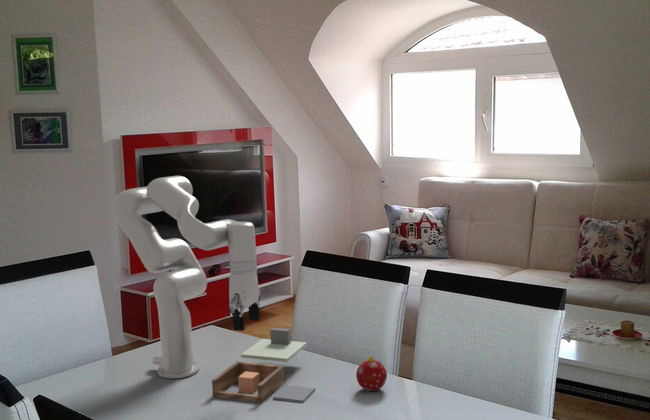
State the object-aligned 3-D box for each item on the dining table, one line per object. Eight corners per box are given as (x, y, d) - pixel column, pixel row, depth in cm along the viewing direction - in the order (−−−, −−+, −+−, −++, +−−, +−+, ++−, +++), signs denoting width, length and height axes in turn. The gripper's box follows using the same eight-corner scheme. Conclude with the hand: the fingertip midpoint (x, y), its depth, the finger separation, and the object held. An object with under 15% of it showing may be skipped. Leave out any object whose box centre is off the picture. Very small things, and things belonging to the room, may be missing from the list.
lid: (241, 357, 217) (240, 340, 216) (262, 341, 231) (261, 325, 231) (287, 362, 212) (286, 344, 211) (306, 345, 226) (306, 328, 225)
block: (239, 392, 204) (238, 376, 204) (246, 386, 209) (245, 371, 208) (253, 393, 203) (252, 378, 202) (260, 387, 207) (259, 372, 206)
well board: (212, 396, 201) (211, 379, 201) (238, 377, 215) (237, 361, 215) (262, 402, 196) (261, 385, 195) (284, 382, 210) (284, 365, 209)
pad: (273, 399, 198) (273, 396, 198) (286, 386, 207) (286, 384, 206) (303, 402, 195) (303, 400, 195) (315, 390, 203) (315, 388, 203)
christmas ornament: (350, 391, 201) (349, 357, 200) (367, 382, 208) (366, 348, 207) (376, 398, 196) (375, 363, 195) (392, 388, 203) (392, 354, 202)
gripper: (245, 259, 210) (248, 315, 212) (216, 272, 194) (220, 333, 196) (268, 260, 207) (271, 317, 210) (241, 273, 191) (245, 335, 194)
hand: (247, 325), depth 203 cm, fingers open, 9 cm apart
